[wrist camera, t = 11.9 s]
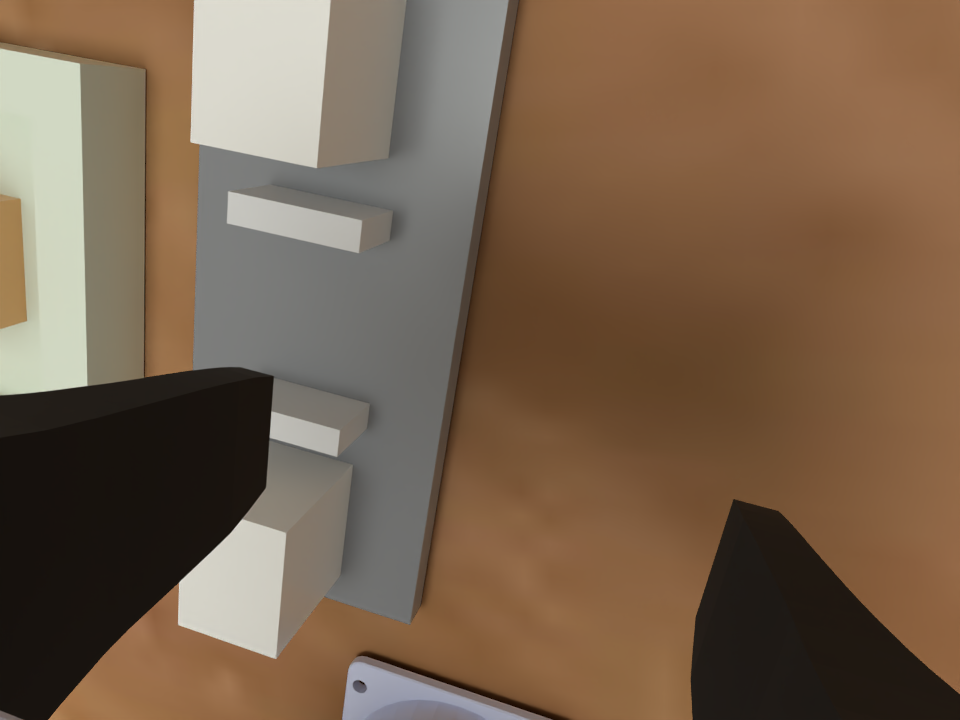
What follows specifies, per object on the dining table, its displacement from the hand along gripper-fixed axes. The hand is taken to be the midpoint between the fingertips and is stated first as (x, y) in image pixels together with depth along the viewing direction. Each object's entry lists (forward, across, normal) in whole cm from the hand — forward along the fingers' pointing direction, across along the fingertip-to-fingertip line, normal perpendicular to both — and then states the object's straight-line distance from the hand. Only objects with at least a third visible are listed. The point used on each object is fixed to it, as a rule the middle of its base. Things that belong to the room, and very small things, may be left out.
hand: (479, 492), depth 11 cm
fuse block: (+10, +7, +1) cm, 12 cm away
